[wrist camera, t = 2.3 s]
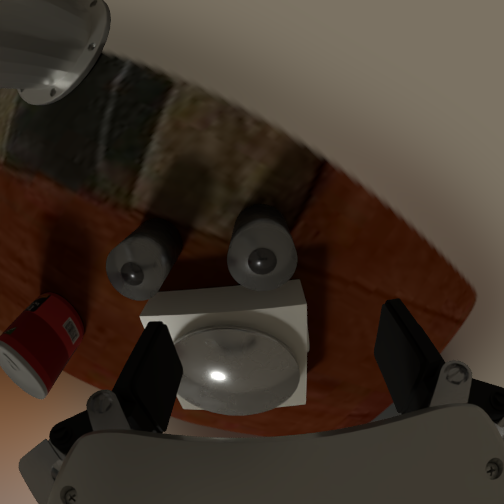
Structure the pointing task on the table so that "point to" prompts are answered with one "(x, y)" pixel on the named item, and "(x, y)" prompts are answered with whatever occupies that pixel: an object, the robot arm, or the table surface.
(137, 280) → the spacer
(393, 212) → the table surface
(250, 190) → the table surface
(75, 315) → the canned food
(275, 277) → the spacer
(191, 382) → the pan
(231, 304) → the scale
